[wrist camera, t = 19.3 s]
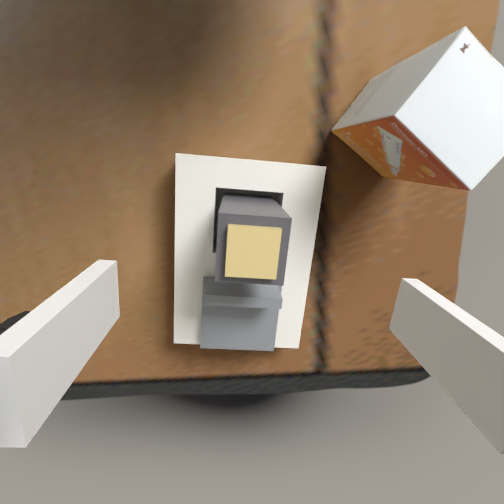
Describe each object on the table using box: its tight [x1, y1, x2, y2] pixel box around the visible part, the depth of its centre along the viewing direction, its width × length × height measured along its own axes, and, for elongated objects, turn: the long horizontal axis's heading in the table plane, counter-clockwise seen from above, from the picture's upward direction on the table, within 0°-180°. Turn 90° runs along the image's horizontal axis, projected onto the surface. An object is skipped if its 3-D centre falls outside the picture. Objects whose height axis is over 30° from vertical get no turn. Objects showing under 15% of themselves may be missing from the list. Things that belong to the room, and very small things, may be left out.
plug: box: [215, 193, 292, 286], centre depth 26 cm, size 5×5×13 cm
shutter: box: [200, 276, 283, 351], centre depth 30 cm, size 8×8×4 cm
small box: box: [331, 27, 504, 191], centre depth 25 cm, size 8×6×13 cm
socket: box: [174, 153, 326, 348], centre depth 33 cm, size 20×14×4 cm
